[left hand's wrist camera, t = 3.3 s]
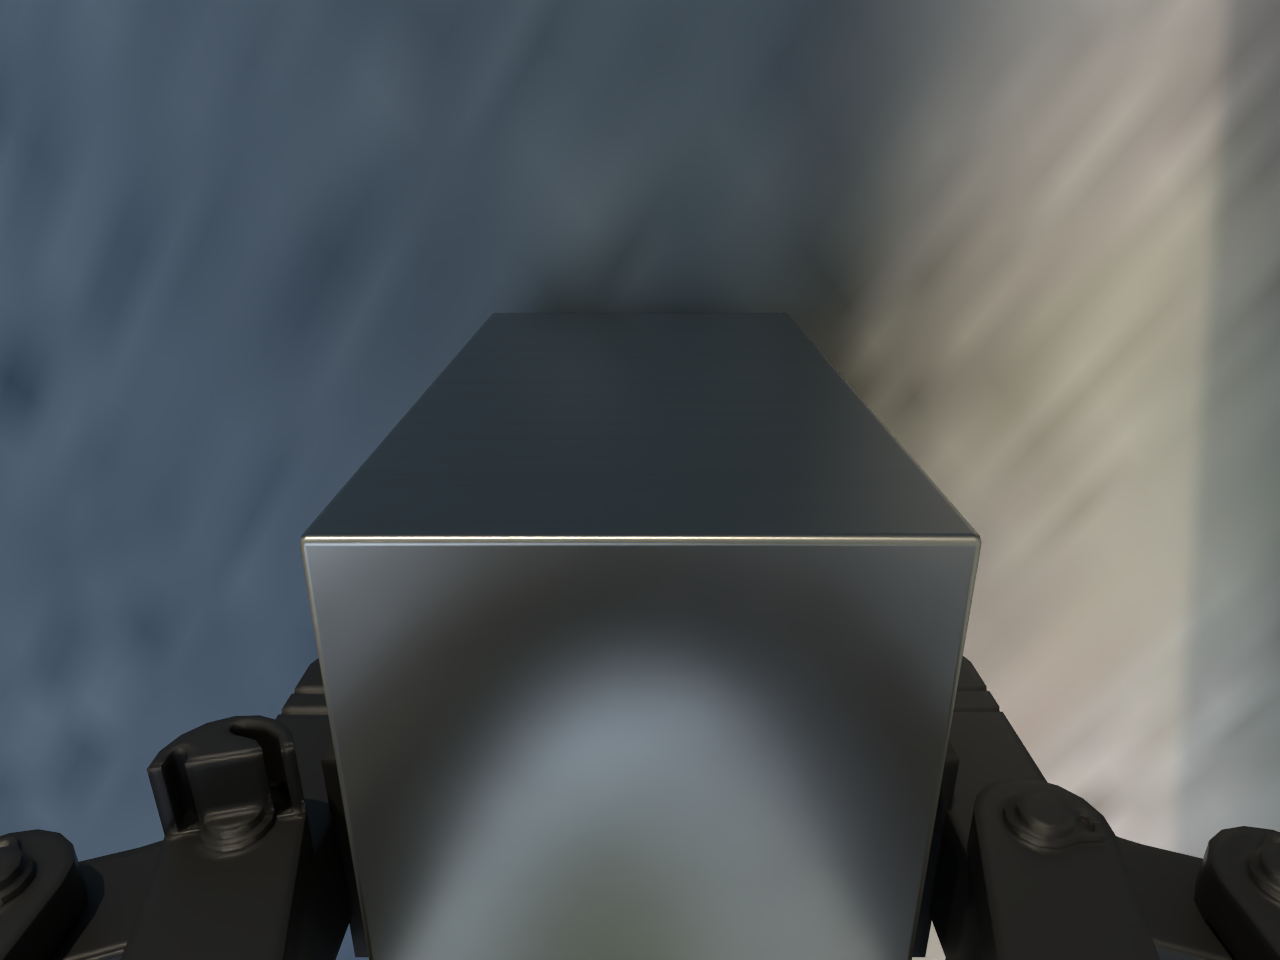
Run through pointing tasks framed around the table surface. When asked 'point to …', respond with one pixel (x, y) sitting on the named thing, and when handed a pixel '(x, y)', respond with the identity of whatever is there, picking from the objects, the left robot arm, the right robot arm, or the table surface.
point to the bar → (640, 651)
